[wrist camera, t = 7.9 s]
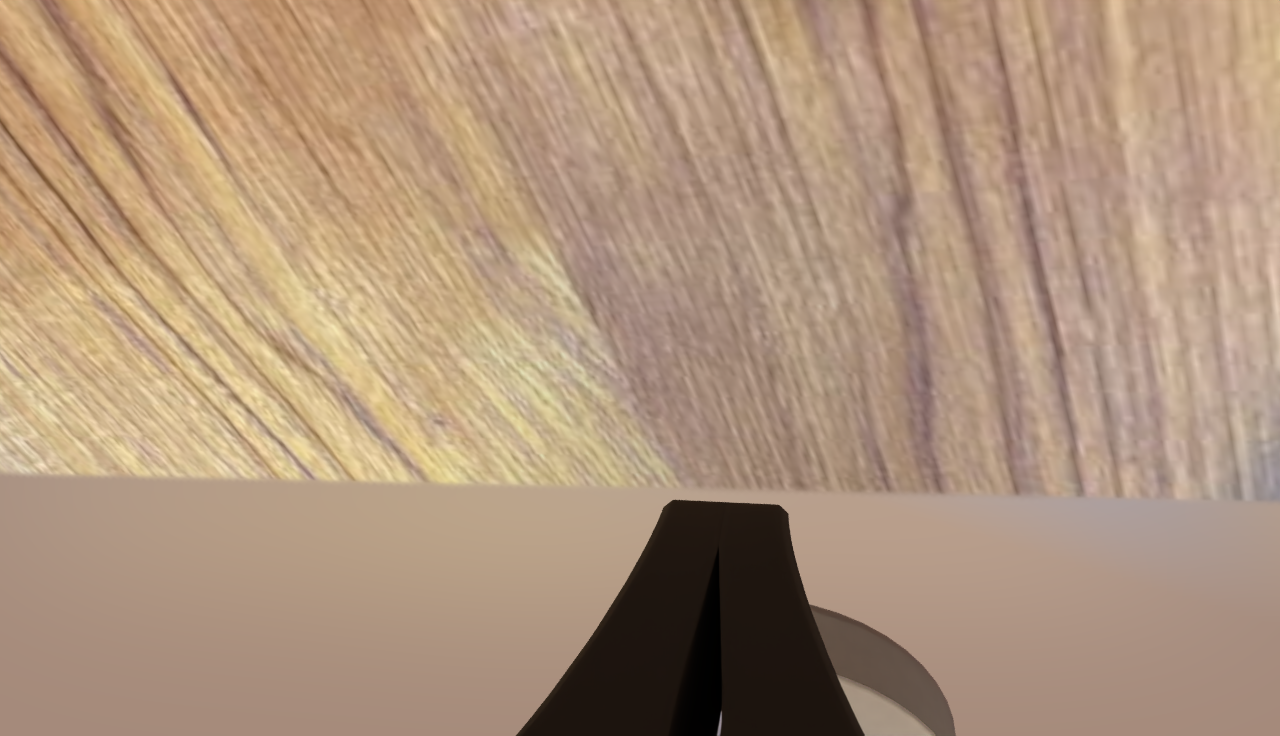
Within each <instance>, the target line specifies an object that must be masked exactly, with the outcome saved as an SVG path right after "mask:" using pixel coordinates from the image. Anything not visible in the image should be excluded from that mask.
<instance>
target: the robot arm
mask: <svg viewBox="0 0 1280 736" xmlns="http://www.w3.org/2000/svg"><path fill="white" fill-rule="evenodd" d="M516 736H865V734H864V732H863V730H862V728H861V726H860V724H859V722H858V720H857V718H856V716H855V714H854V712H853V710H852V707H851V705H850V703H849V701H848V699H847V697H846V695H845V692H844V690H843V688H842V686H841V684H840V681H839V679H838V677H837V675H836V672H835V670H834V668H833V665H832V663H831V661H830V658H829V656H828V653H827V650H826V648H825V645H824V643H823V640H822V638H821V635H820V632H819V630H818V627H817V625H816V622H815V619H814V617H813V614H812V611H811V608H810V606H809V603H808V600H807V597H806V594H805V591H804V587H803V584H802V581H801V577H800V574H799V571H798V567H797V563H796V559H795V555H794V551H793V546H792V541H791V535H790V529H789V518H788V513H787V512H786V511H785V510H784V509H783V508H782V507H781V506H780V505H771V504H750V503H729V502H706V501H686V500H672V501H671V502H670V503H668V504H667V505H666V506H665V507H664V508H663V510H662V513H661V515H660V518H659V520H658V522H657V525H656V527H655V529H654V531H653V533H652V535H651V537H650V539H649V541H648V543H647V545H646V547H645V549H644V551H643V552H642V554H641V556H640V558H639V560H638V562H637V563H636V565H635V567H634V569H633V571H632V572H631V574H630V576H629V578H628V579H627V581H626V583H625V585H624V586H623V588H622V589H621V591H620V592H619V594H618V596H617V597H616V599H615V600H614V602H613V604H612V605H611V607H610V608H609V610H608V612H607V613H606V615H605V616H604V618H603V620H602V621H601V622H600V624H599V626H598V627H597V629H596V630H595V632H594V633H593V635H592V636H591V638H590V639H589V641H588V642H587V643H586V645H585V646H584V648H583V649H582V650H581V652H580V653H579V655H578V656H577V657H576V659H575V660H574V661H573V663H572V664H571V666H570V667H569V668H568V670H567V671H566V672H565V674H564V675H563V677H562V678H561V679H560V681H559V682H558V683H557V685H556V686H555V688H554V689H553V690H552V692H551V693H550V694H549V696H548V697H547V698H546V699H545V701H544V702H543V703H542V704H541V706H540V707H539V708H538V709H537V711H536V712H535V713H534V715H533V716H532V717H531V718H530V719H529V721H528V722H527V723H526V724H525V726H524V727H523V728H522V729H521V730H520V732H519V733H518V734H517V735H516Z"/></svg>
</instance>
